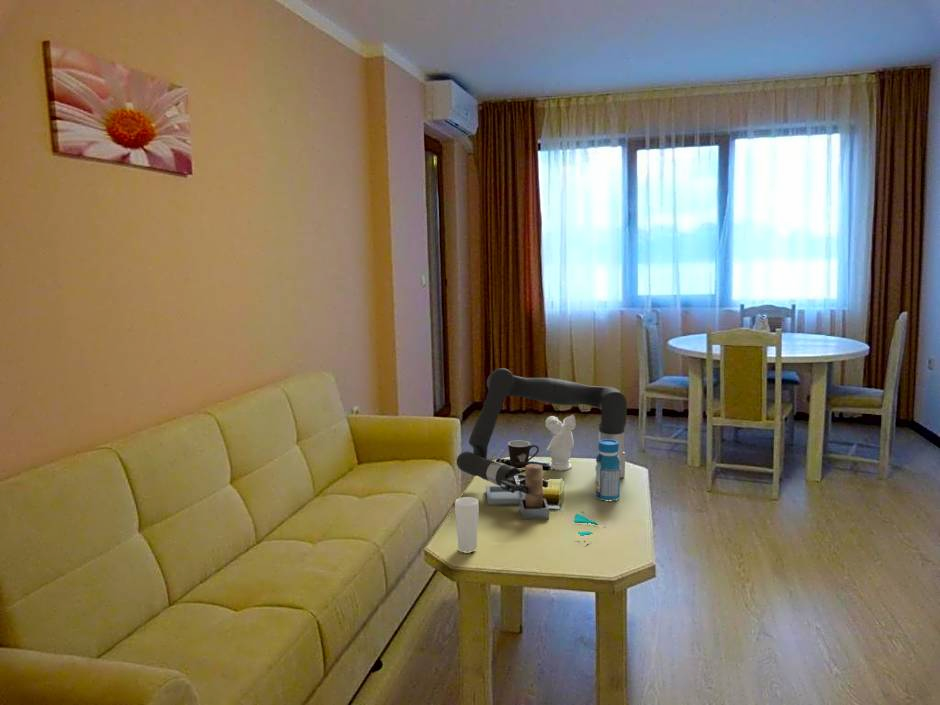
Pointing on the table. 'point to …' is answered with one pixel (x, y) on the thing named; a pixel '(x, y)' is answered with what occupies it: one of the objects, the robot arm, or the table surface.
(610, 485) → the beverage bottle
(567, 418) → the cherub figurine
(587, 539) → the table surface
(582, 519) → the cloth
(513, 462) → the coffee mug
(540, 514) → the holder cup
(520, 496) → the tray
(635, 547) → the table surface
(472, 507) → the drinking glass
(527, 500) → the canister
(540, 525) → the table surface
